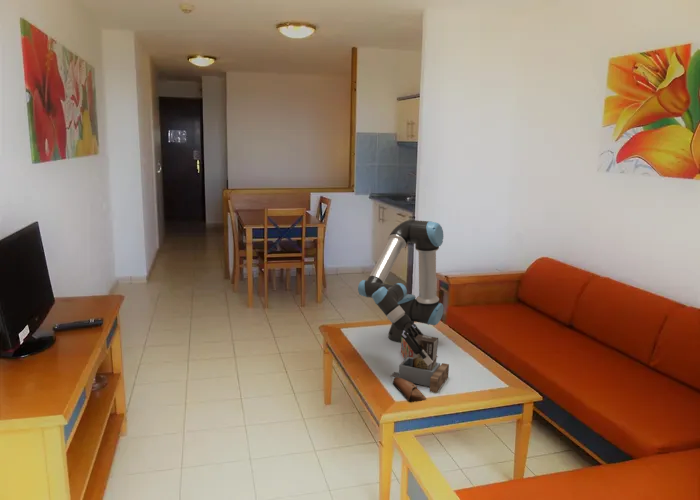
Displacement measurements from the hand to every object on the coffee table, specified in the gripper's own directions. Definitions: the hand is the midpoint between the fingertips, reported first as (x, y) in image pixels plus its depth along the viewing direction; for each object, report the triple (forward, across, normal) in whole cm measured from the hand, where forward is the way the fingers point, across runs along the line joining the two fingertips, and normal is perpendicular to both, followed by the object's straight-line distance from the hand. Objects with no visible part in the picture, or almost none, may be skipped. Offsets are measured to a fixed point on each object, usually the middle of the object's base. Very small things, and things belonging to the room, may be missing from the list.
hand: (433, 360), depth 233 cm
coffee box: (+2, 0, -8) cm, 8 cm away
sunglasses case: (+4, +13, -11) cm, 18 cm away
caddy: (+3, 0, -11) cm, 11 cm away
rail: (+1, 0, -13) cm, 13 cm away
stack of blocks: (-4, -20, -19) cm, 28 cm away
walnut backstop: (+9, 0, -5) cm, 10 cm away
